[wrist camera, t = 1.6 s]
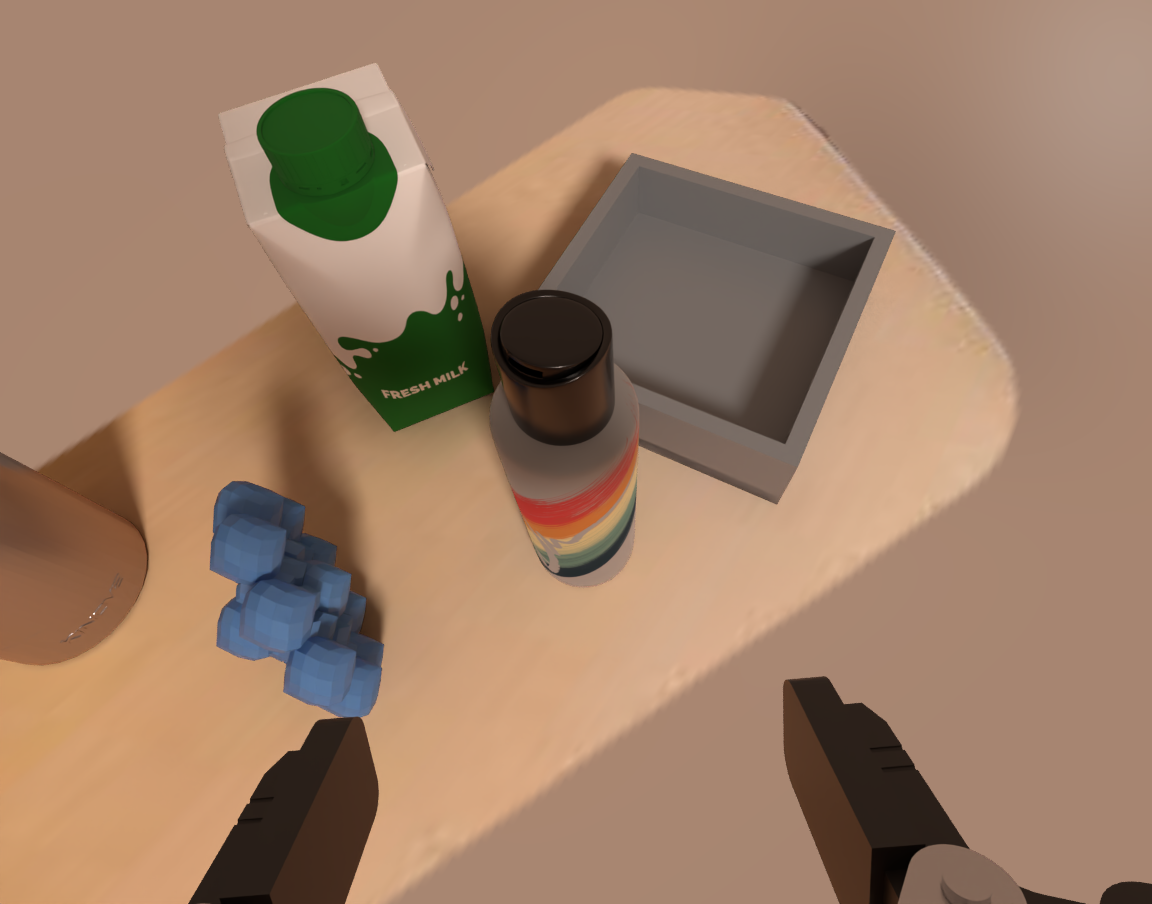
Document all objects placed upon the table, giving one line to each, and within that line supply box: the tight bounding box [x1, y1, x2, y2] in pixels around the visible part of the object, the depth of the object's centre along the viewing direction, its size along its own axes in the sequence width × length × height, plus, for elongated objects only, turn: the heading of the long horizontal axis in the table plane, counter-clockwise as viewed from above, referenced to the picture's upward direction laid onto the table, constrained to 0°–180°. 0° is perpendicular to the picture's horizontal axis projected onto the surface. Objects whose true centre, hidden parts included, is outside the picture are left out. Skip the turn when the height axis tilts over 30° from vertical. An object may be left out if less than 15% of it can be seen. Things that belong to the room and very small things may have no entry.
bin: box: [538, 153, 896, 504], centre depth 41 cm, size 18×18×5 cm
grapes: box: [210, 481, 384, 718], centre depth 31 cm, size 12×7×12 cm, turn 30°
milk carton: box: [218, 63, 494, 432], centre depth 35 cm, size 9×9×20 cm
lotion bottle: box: [490, 290, 639, 587], centre depth 29 cm, size 6×6×20 cm
